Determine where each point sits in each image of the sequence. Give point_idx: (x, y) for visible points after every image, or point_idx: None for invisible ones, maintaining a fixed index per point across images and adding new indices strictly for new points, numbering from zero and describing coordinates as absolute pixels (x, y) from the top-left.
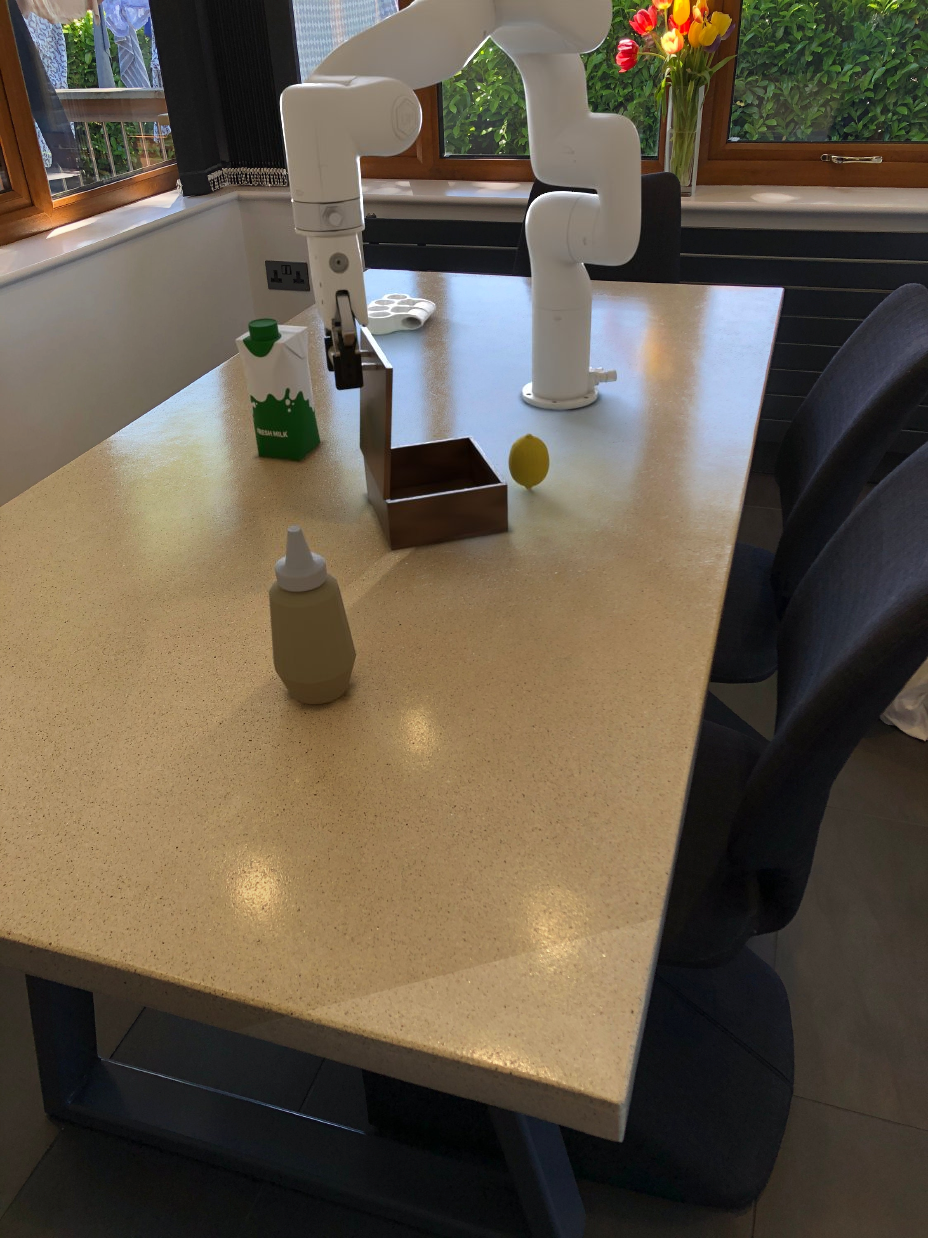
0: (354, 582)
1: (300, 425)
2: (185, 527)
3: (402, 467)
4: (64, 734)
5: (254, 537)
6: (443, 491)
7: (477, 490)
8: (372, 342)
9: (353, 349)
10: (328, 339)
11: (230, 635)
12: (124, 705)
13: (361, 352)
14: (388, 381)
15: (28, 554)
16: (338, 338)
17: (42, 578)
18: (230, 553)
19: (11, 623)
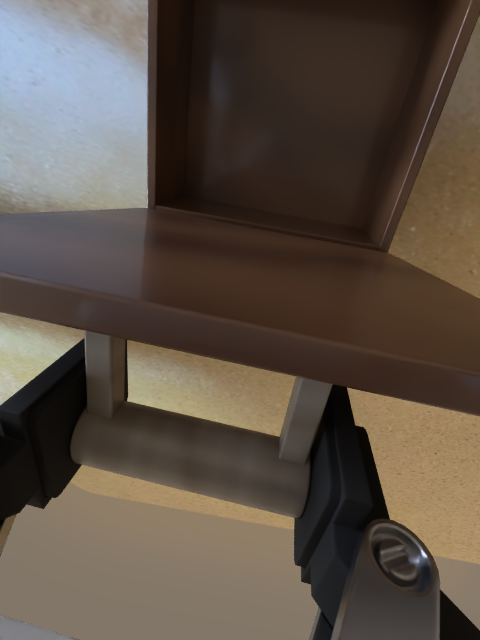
0: None
1: None
2: (176, 408)
3: (173, 131)
4: (449, 537)
5: (230, 364)
6: (232, 60)
7: (472, 26)
8: (105, 320)
9: (470, 631)
10: (46, 494)
11: (411, 435)
12: (447, 510)
13: (113, 341)
14: None
15: (174, 500)
16: (33, 457)
17: (219, 502)
18: (254, 392)
19: (277, 526)
